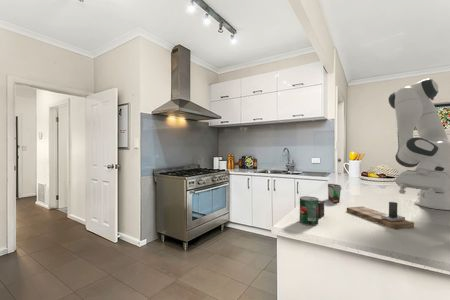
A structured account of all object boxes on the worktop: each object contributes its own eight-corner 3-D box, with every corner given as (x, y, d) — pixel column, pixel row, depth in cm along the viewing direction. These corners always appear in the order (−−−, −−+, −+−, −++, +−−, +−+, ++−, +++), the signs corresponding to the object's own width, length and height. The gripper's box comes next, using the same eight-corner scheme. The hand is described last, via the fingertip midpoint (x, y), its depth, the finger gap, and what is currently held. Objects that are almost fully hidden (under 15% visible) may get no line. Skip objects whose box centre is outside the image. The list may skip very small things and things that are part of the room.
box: (324, 216, 108) (324, 201, 108) (320, 218, 104) (320, 203, 104) (312, 213, 113) (312, 199, 112) (307, 216, 108) (307, 201, 108)
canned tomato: (295, 221, 100) (295, 197, 100) (308, 218, 104) (308, 195, 104) (309, 227, 93) (309, 201, 93) (322, 224, 97) (322, 199, 97)
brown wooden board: (346, 211, 116) (346, 207, 116) (362, 210, 118) (362, 206, 118) (395, 229, 90) (395, 224, 90) (414, 227, 93) (414, 222, 93)
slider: (381, 217, 98) (381, 201, 98) (393, 216, 100) (394, 200, 100) (392, 221, 93) (392, 204, 93) (405, 220, 95) (405, 203, 95)
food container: (344, 204, 131) (345, 187, 131) (333, 203, 132) (334, 186, 132) (337, 199, 143) (337, 183, 143) (327, 198, 144) (327, 183, 144)
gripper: (401, 165, 109) (385, 186, 107) (452, 169, 90) (434, 194, 87) (408, 174, 110) (393, 195, 108) (460, 179, 91) (443, 205, 88)
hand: (412, 194), depth 98 cm, fingers open, 8 cm apart
